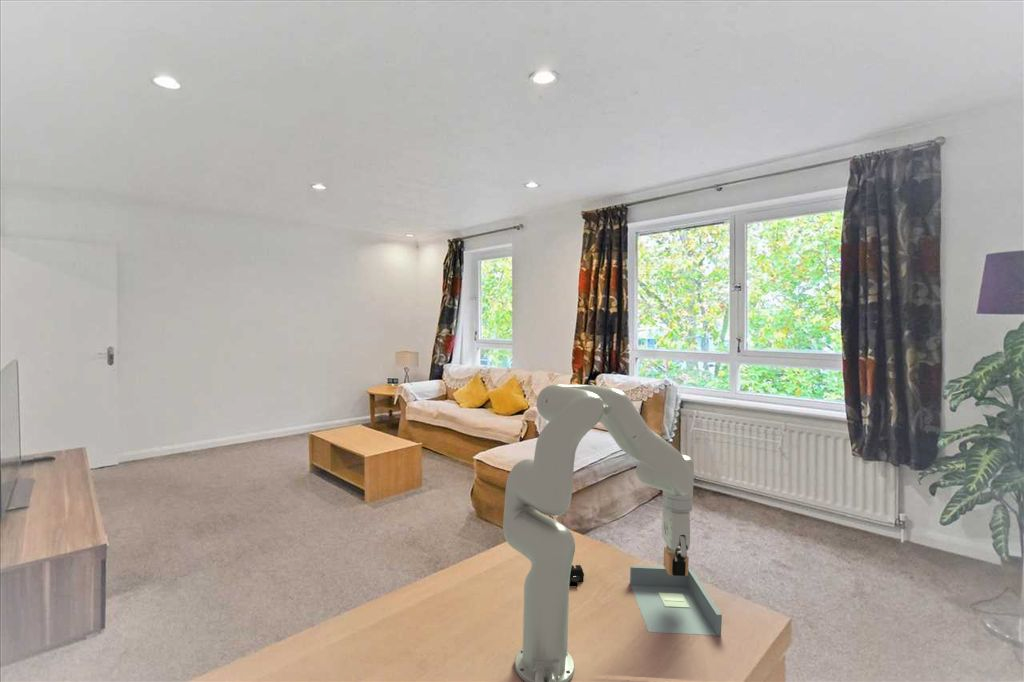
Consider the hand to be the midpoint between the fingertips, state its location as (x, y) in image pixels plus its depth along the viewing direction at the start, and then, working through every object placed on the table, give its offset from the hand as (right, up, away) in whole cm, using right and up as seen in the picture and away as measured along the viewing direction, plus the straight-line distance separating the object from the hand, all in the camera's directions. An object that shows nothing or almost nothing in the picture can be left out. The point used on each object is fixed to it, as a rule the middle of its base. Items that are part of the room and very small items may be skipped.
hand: (675, 568), depth 128 cm
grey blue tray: (-2, -9, -3) cm, 10 cm away
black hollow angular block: (-25, -9, +10) cm, 29 cm away
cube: (0, 0, 0) cm, 0 cm away
